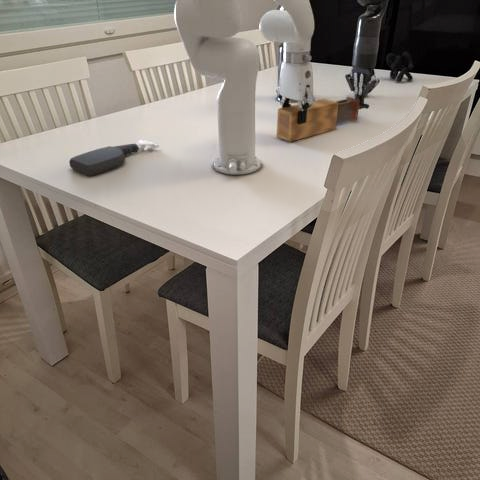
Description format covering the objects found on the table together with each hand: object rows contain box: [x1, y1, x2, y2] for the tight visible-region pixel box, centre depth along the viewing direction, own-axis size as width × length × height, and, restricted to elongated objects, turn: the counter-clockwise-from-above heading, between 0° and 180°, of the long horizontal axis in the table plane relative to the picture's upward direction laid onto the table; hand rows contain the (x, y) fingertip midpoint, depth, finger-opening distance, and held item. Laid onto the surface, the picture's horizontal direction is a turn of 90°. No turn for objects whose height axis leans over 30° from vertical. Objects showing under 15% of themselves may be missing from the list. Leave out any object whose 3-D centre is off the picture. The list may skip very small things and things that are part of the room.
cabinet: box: [276, 98, 338, 143], centre depth 139 cm, size 20×6×9 cm, turn 128°
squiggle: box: [385, 51, 414, 83], centre depth 198 cm, size 11×10×15 cm
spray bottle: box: [68, 139, 160, 177], centre depth 124 cm, size 3×11×24 cm
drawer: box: [335, 96, 370, 124], centre depth 147 cm, size 25×5×7 cm, turn 128°
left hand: (293, 120), depth 135 cm, fingers closed on cabinet, 6 cm apart
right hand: (358, 105), depth 152 cm, fingers closed
